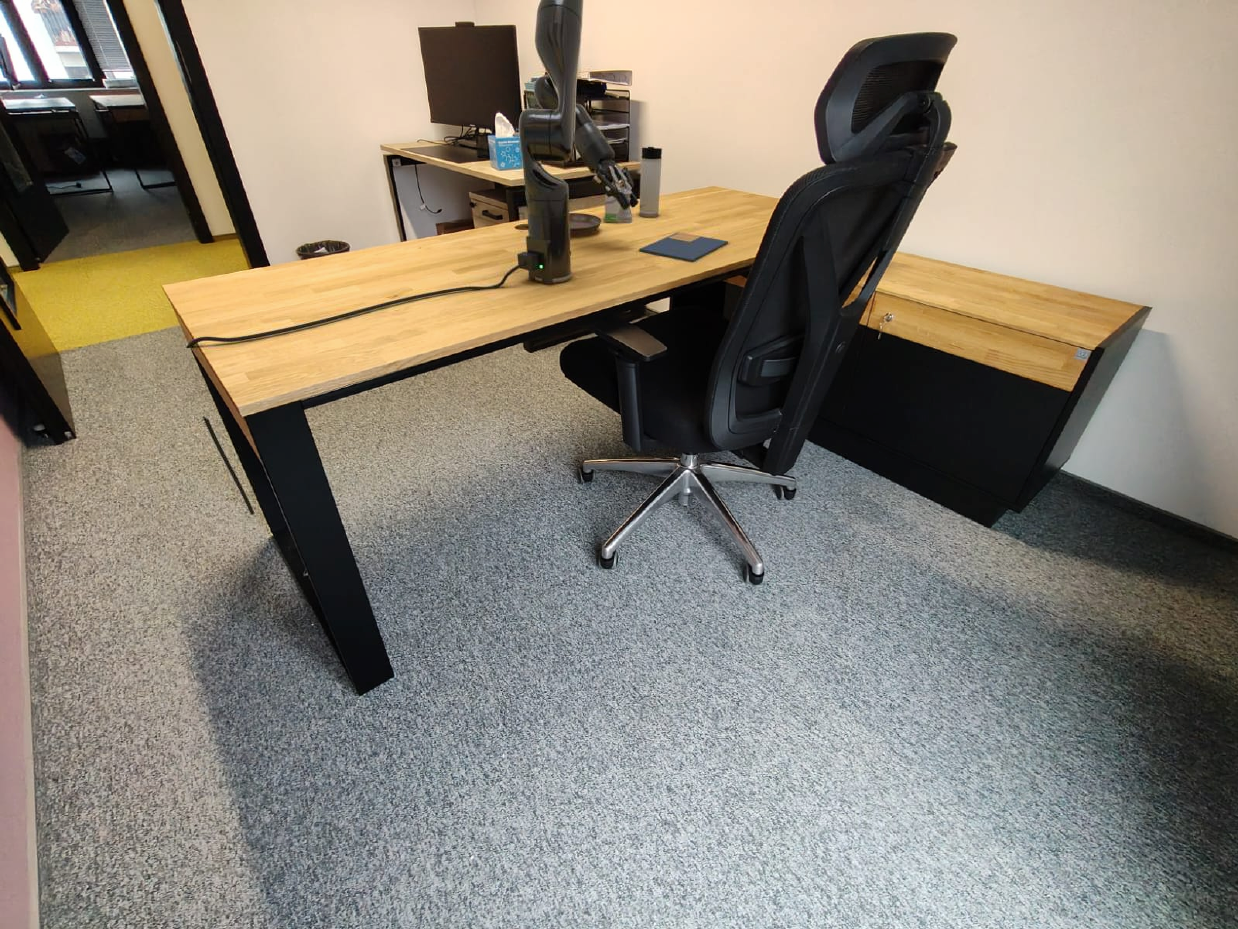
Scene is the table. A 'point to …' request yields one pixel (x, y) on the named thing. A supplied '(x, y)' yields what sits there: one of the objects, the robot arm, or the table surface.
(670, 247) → the desk mat
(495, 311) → the table surface
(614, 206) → the ink box
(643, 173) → the travel mug
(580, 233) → the plant saucer
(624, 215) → the rook chess piece
